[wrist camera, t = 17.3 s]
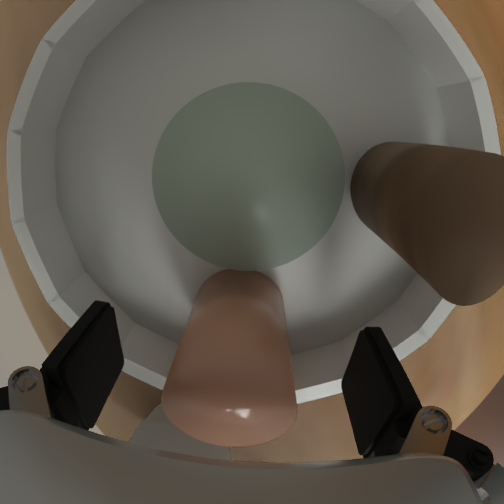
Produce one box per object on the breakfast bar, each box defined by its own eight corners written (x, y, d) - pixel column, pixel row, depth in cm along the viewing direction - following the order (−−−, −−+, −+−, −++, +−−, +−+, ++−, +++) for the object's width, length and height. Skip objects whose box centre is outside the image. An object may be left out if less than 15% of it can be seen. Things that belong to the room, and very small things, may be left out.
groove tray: (398, 361, 16) (418, 400, 12) (76, 331, 15) (49, 366, 12) (459, 24, 8) (498, 9, 5) (77, -8, 8) (42, -30, 5)
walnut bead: (422, 239, 12) (504, 305, 6) (343, 229, 12) (406, 305, 6) (438, 153, 10) (539, 175, 5) (356, 132, 10) (443, 131, 5)
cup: (112, 397, 18) (65, 509, 8) (201, 371, 16) (168, 530, 7) (179, 453, 20) (159, 552, 11) (264, 437, 19) (264, 557, 9)
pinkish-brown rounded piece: (290, 271, 12) (310, 372, 7) (277, 345, 14) (285, 449, 8) (196, 263, 12) (152, 357, 7) (196, 338, 14) (168, 438, 8)
